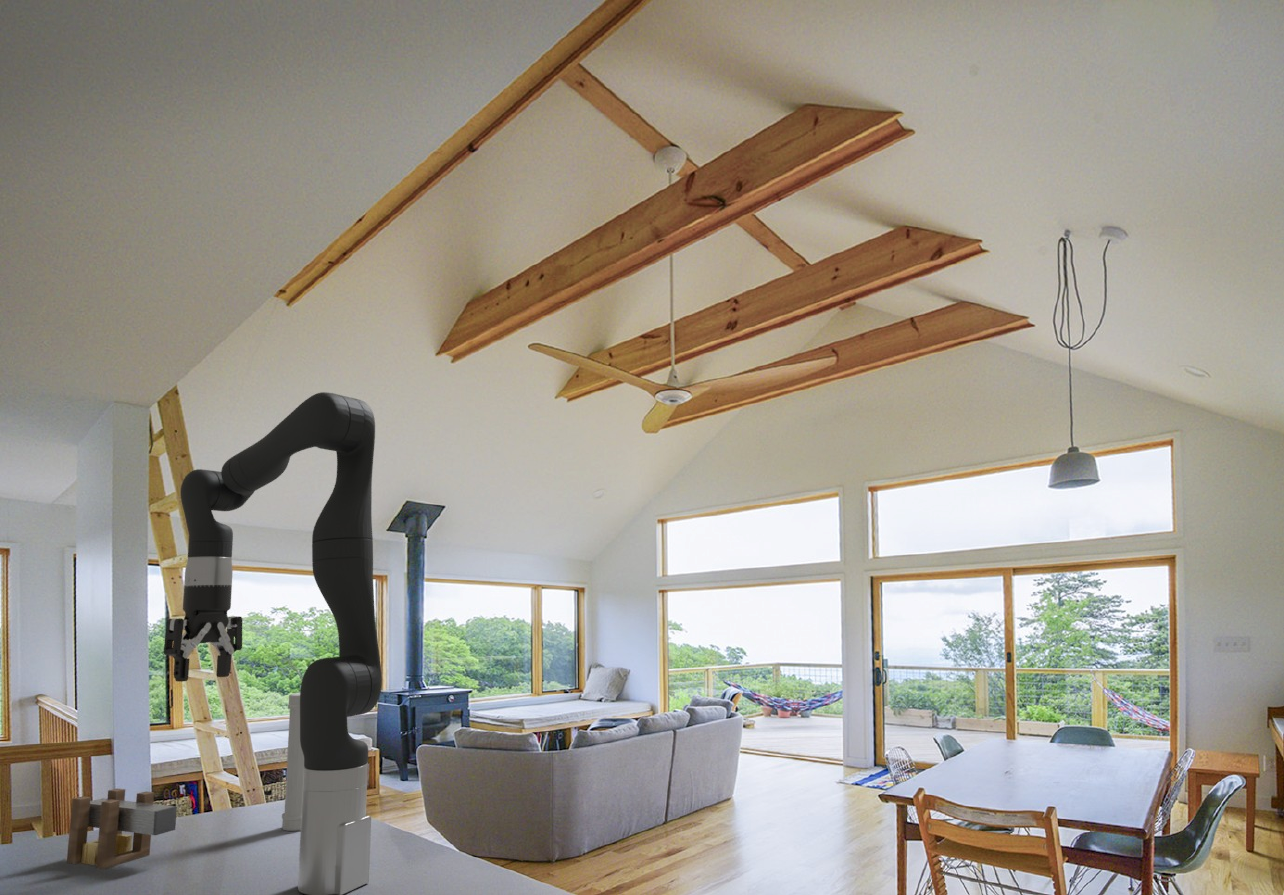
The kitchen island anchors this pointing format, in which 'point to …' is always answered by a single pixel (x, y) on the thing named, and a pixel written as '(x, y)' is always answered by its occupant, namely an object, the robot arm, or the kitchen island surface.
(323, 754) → the robot arm
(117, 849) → the spacer
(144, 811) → the shaft
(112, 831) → the brown wooden frame
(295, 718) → the pipe
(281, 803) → the kitchen island surface
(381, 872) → the kitchen island surface
